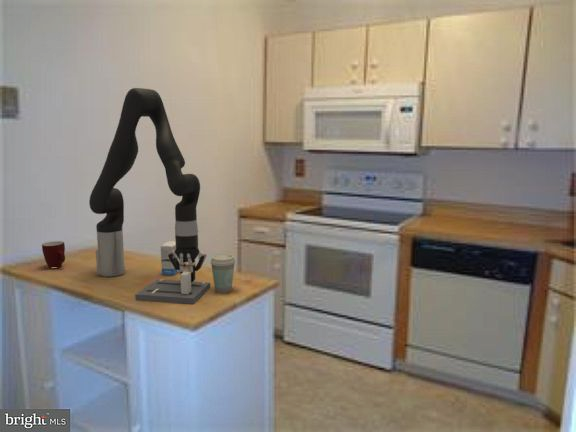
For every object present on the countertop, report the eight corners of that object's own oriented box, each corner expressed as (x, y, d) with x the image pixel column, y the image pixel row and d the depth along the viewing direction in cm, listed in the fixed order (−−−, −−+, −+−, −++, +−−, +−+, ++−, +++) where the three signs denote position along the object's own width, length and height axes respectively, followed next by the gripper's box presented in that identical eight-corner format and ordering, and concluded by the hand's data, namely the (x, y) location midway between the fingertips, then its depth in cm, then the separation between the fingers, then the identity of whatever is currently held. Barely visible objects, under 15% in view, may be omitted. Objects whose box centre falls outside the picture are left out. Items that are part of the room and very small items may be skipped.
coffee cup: (225, 296, 149) (224, 261, 147) (205, 291, 154) (205, 257, 152) (240, 288, 156) (240, 255, 154) (222, 284, 161) (221, 252, 159)
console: (135, 300, 145) (135, 294, 145) (157, 284, 160) (157, 278, 160) (193, 304, 142) (193, 297, 141) (210, 287, 157) (210, 282, 157)
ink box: (173, 275, 171) (171, 246, 168) (161, 275, 172) (159, 245, 169) (182, 269, 179) (181, 241, 177) (171, 268, 180) (170, 240, 178)
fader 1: (183, 285, 153) (182, 266, 151) (186, 282, 156) (186, 264, 155) (189, 285, 152) (188, 267, 151) (192, 282, 155) (192, 264, 154)
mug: (75, 266, 181) (73, 243, 180) (58, 272, 174) (55, 247, 172) (57, 263, 186) (54, 240, 184) (39, 268, 178) (37, 244, 177)
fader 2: (181, 293, 144) (180, 274, 143) (185, 290, 148) (184, 271, 146) (187, 294, 144) (187, 274, 143) (191, 290, 147) (190, 271, 146)
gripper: (162, 234, 148) (164, 283, 151) (202, 236, 146) (203, 286, 149) (171, 229, 156) (173, 277, 159) (209, 231, 153) (210, 279, 156)
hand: (188, 281), depth 154 cm, fingers closed on fader 1, 2 cm apart
